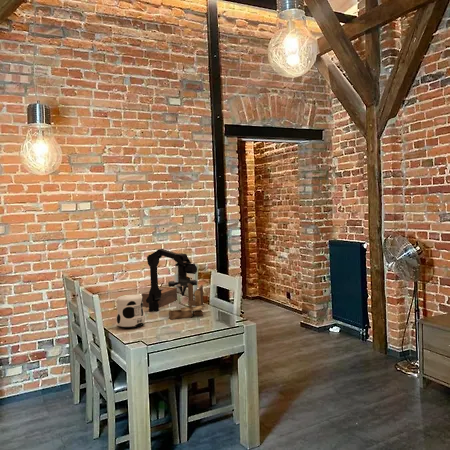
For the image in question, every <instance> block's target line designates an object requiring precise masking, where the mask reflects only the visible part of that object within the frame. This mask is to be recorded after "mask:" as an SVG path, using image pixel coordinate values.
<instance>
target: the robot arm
mask: <svg viewBox="0 0 450 450" xmlns="http://www.w3.org/2000/svg"><path fill="white" fill-rule="evenodd" d="M162 257H166V258H168V259H172V260H174V262H176V264H175V265H174V266H175V267H177V280H178V281H174V280H171V281H170V280H169V281H168V282H167V285H168V287H170V288H175V286H176V288H177V289H179V291H180V293H181V296H182V297H185V292H186V289H188V287H189V286H188V284H192V285H193V286H198V281H197V280H196V279H191V277H188V276H187V275H188V274H192V275H195V274H197V272H198V267H197V265H196V263H193V262H191V261H190V259H189V257H188V255H187V253H180V252H179V253H177V252H173V251H170V250H167V249H165V248H158V249H157V250H156V251H154V252H152V253H151V254H148V255H147V256H146V261H147V265H148V266H149V274H150V289H149V290H148V291H149V296H148V298H147V299H146V302H147V303H148V304H149V307H148V312H151V313H152V312H159V310H160V308H159V304H158V301H160V298H161V295H162V294H161V289H159V288H160V287H159V277H158V266H159V263H160V259H161V258H162Z"/></svg>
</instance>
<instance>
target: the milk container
mask: <svg viewBox="0 0 450 450" xmlns="http://www.w3.org/2000/svg"><path fill="white" fill-rule="evenodd" d="M116 307H117V308H116V310H117V311H116V317H115V319H116V320H115V321H116V324H117V326H118V327H119V328H122V329H133V328H138V327H141V326H142V325H144V324H145V321H146V314H145V312H144V307H143V298H142V294H125V295H121V296H118V297H117V298H116Z"/></svg>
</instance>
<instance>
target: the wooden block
mask: <svg viewBox="0 0 450 450" xmlns="http://www.w3.org/2000/svg"><path fill="white" fill-rule="evenodd" d="M188 286H189V287H187V294H188V296H187V297H188V300H187V305H188V306H189V304H191V305H192V307H196V304H195V299H194V297H195V292H194V285H192V284H188ZM196 291H200V297H201V306H204V285H203V284H201V285H200V286H199V287H198V289H196Z"/></svg>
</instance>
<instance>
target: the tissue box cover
mask: <svg viewBox="0 0 450 450" xmlns="http://www.w3.org/2000/svg"><path fill="white" fill-rule="evenodd" d="M158 288H159V289H161V294H162V295H161V298H160V301H158V304H159V309H160V308H162V307H165V306H167V305H169V304H172V303H175V302H177V301H178V287H169V286H168V287H167V286H160V287H158ZM149 291H150V290H148V291H145V292H143V293H141V296H142V298H143V308H149V304H148V303H147V302H146V299H147V298H148V296H149ZM176 300H177V301H176ZM174 301H175V302H174Z"/></svg>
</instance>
